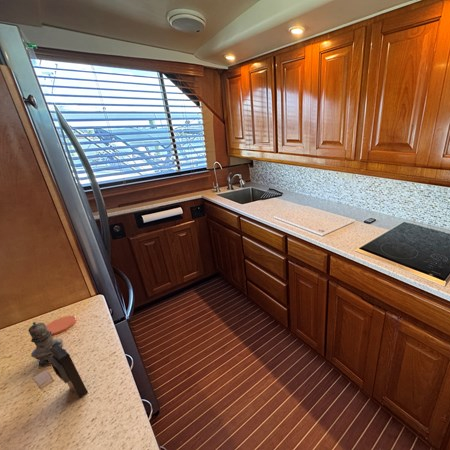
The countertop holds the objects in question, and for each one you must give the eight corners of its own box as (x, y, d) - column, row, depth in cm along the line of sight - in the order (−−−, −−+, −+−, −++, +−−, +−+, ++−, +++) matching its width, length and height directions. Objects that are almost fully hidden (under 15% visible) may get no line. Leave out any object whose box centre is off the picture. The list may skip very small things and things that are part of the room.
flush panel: (77, 382, 56) (58, 344, 52) (88, 392, 54) (68, 353, 50) (65, 391, 54) (44, 352, 50) (75, 401, 52) (54, 362, 48)
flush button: (49, 377, 51) (44, 367, 50) (55, 383, 49) (50, 373, 48) (36, 385, 49) (30, 375, 48) (42, 392, 48) (36, 382, 47)
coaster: (36, 333, 71) (35, 331, 70) (64, 315, 77) (64, 314, 77) (55, 337, 69) (54, 336, 69) (82, 318, 76) (82, 317, 76)
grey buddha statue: (37, 357, 63) (17, 322, 58) (67, 344, 67) (50, 310, 62) (36, 372, 59) (14, 335, 54) (68, 357, 63) (50, 321, 58)
